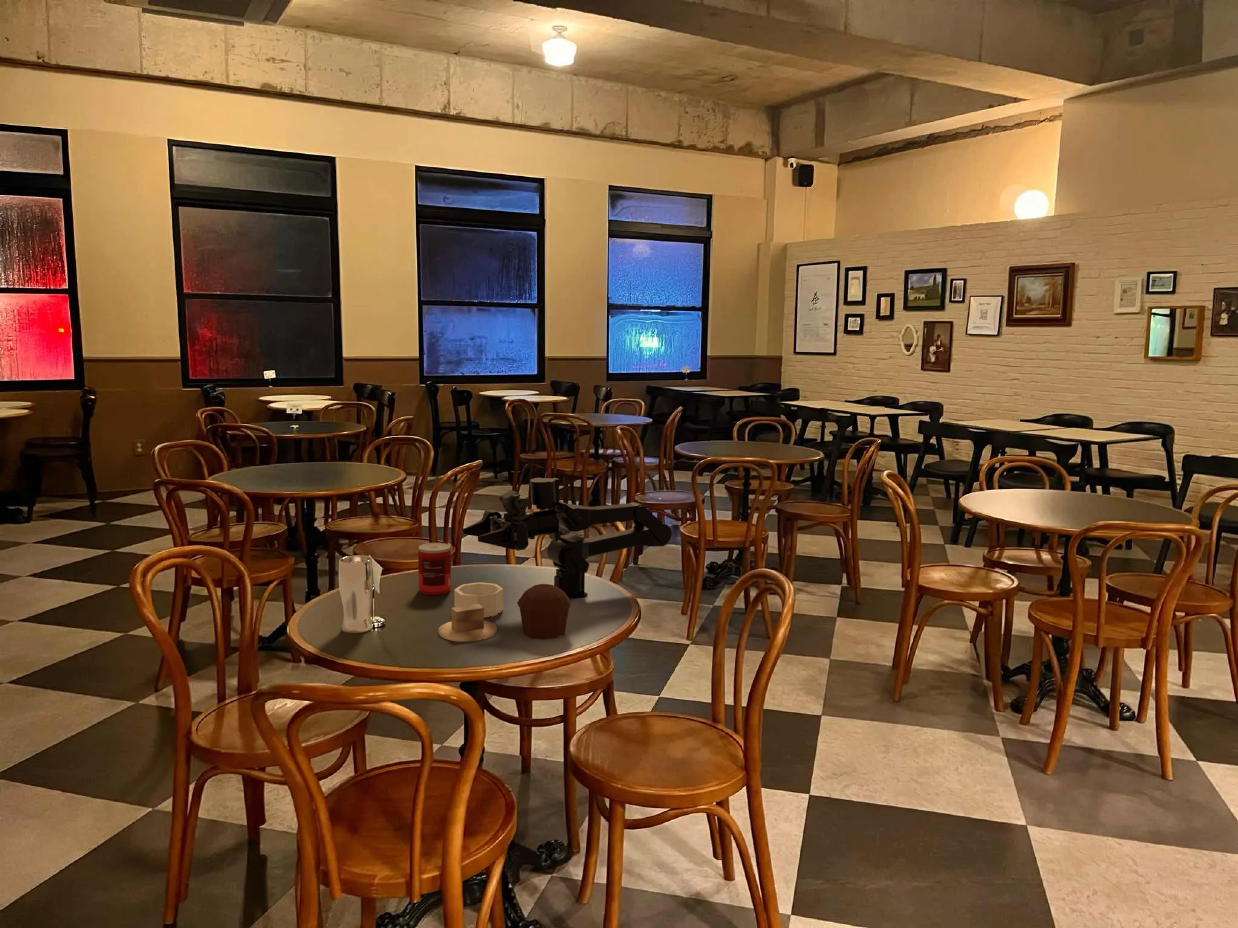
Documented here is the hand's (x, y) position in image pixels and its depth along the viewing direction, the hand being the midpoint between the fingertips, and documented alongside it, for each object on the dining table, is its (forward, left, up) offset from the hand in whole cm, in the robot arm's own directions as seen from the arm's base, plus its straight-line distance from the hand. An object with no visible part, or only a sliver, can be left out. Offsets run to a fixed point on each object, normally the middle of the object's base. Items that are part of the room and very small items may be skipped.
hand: (470, 535), depth 196 cm
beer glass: (+26, +1, -17) cm, 31 cm away
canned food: (+3, -18, -17) cm, 25 cm away
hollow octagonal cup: (-1, +1, -17) cm, 17 cm away
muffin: (-9, +21, -17) cm, 29 cm away
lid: (+6, +13, -18) cm, 23 cm away
